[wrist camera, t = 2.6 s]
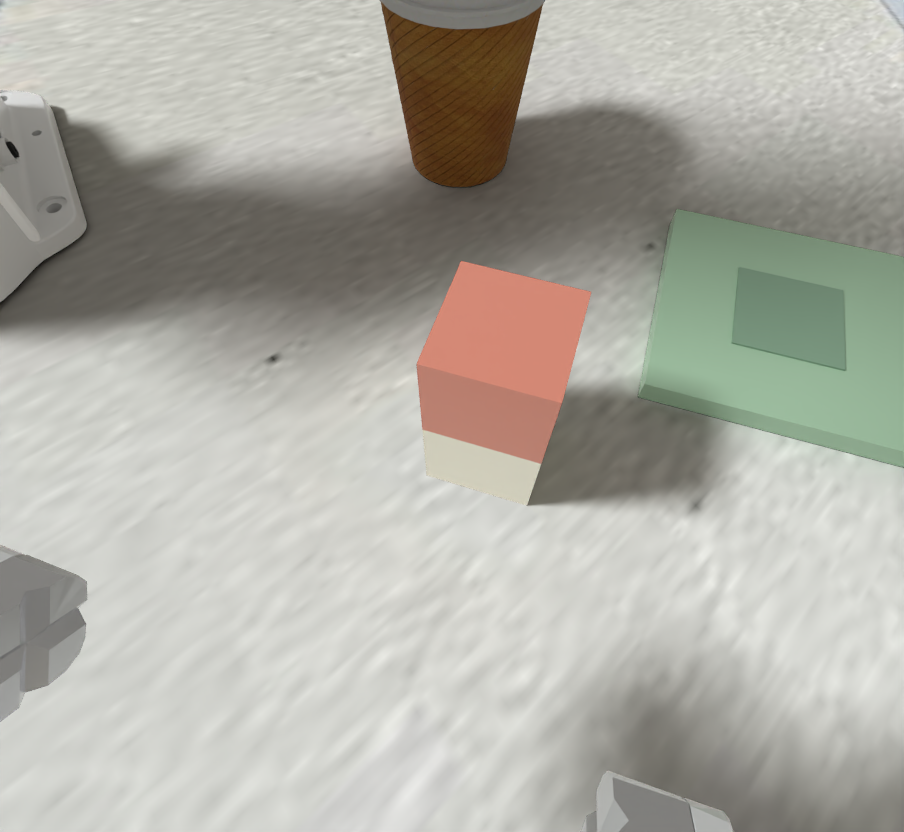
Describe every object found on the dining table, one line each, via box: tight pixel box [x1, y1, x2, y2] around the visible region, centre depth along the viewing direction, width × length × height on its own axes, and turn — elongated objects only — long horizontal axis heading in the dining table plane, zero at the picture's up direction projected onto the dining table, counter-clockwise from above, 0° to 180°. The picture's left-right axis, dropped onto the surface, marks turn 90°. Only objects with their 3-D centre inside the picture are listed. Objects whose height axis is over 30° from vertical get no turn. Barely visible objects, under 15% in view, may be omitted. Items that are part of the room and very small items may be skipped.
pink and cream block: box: [417, 261, 591, 506], centre depth 23 cm, size 5×5×9 cm
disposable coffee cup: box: [380, 0, 545, 187], centre depth 32 cm, size 10×10×12 cm
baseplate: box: [638, 209, 904, 467], centre depth 29 cm, size 13×13×1 cm
